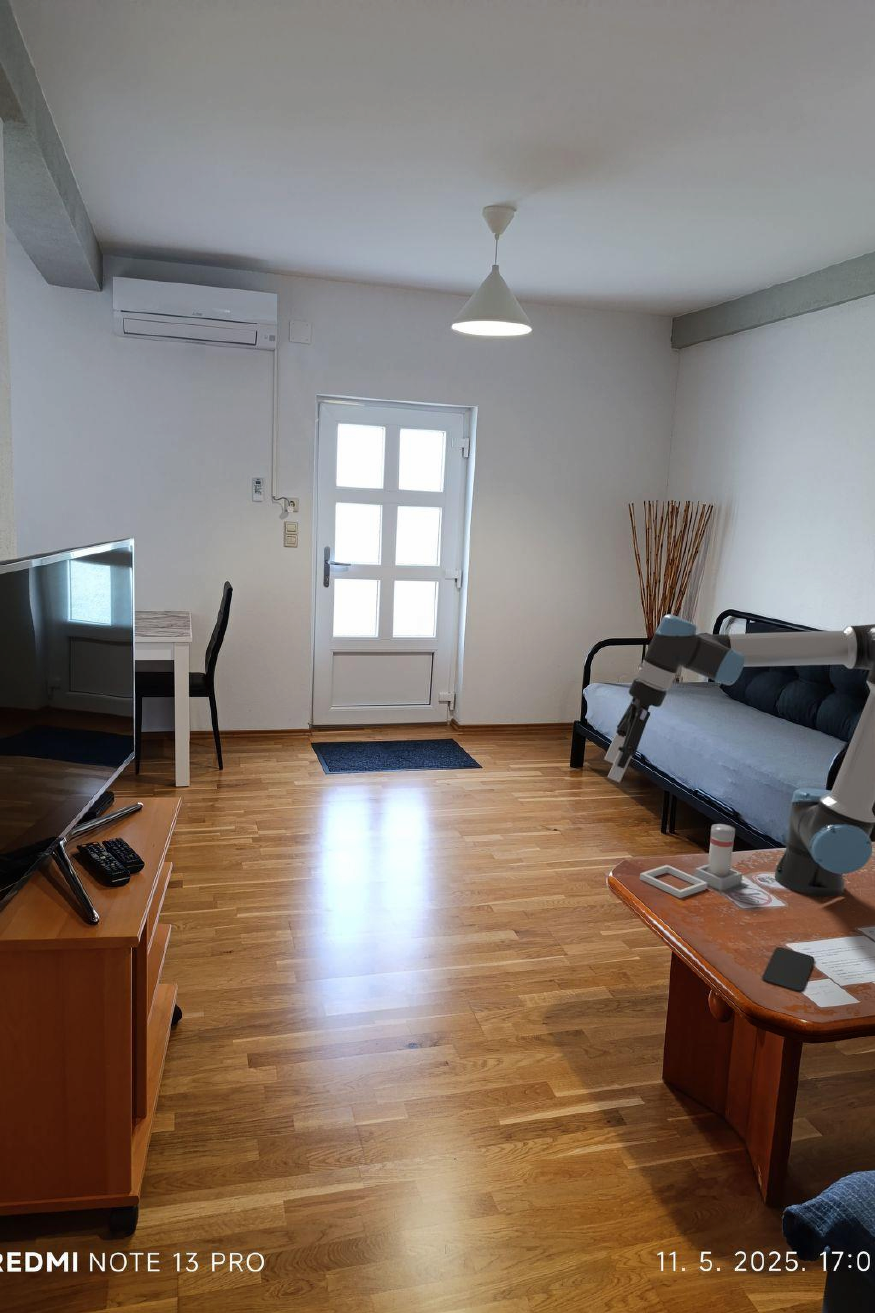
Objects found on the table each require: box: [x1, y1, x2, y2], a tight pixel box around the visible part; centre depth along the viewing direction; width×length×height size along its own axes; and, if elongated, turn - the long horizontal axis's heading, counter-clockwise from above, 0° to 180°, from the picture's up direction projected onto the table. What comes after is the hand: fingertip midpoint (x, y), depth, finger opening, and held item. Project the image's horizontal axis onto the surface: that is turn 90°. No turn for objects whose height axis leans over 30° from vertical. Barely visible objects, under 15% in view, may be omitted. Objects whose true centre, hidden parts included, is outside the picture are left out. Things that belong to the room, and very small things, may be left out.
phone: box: [762, 946, 815, 993], centre depth 173 cm, size 7×1×15 cm
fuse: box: [707, 823, 736, 878], centre depth 209 cm, size 5×5×13 cm
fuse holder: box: [690, 863, 750, 895], centre depth 210 cm, size 11×9×3 cm
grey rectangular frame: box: [639, 864, 708, 899], centre depth 208 cm, size 12×10×2 cm
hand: (611, 770), depth 200 cm, fingers open, 13 cm apart
